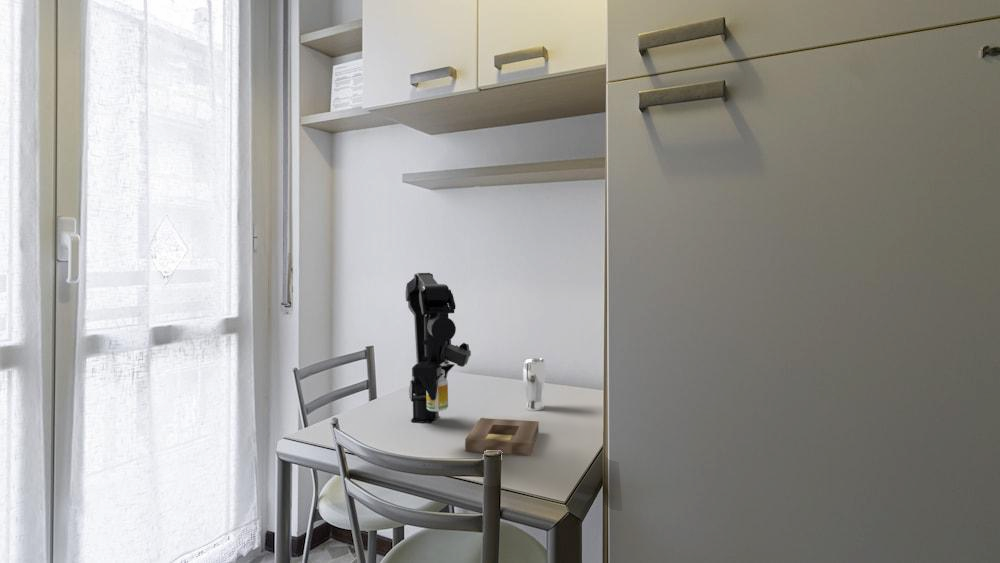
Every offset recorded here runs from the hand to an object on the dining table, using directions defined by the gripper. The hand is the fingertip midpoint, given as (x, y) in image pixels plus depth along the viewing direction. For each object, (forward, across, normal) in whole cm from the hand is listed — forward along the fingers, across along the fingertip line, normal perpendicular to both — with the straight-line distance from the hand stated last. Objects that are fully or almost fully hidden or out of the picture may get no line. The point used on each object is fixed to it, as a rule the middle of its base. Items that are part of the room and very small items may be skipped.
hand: (437, 396), depth 127 cm
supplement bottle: (+3, 0, 0) cm, 3 cm away
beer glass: (+13, +34, -20) cm, 41 cm away
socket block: (+12, +5, -16) cm, 21 cm away
